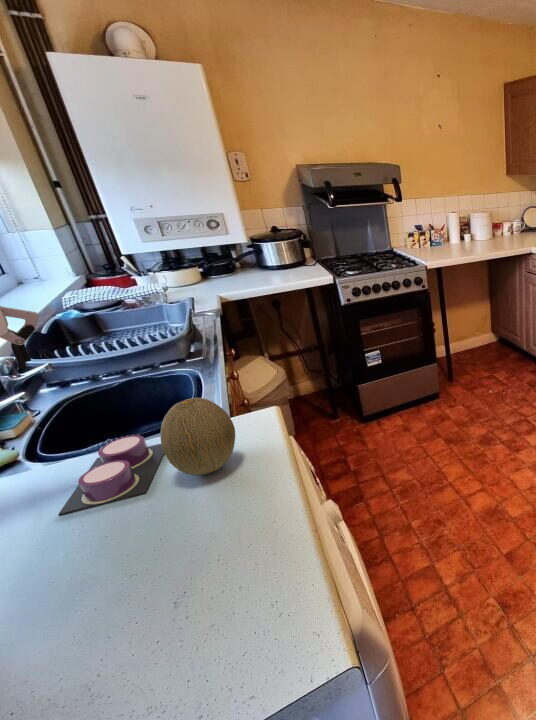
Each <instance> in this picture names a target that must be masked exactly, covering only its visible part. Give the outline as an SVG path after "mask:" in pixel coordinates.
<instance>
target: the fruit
mask: <svg viewBox="0 0 536 720" xmlns="http://www.w3.org/2000/svg"><path fill="white" fill-rule="evenodd" d="M235 442H236V428H235V425H234V423H233V421H232V418H231V417H230V415H229V414H228V413H227V412H226V410H225V409H223V408H222V407H221V406H220V405H219V404H217V403H215V402H214V401H213V400H209V399H207V398H203V397H191V398H188V399H184V400H182V401H181V400H180V401H178V402H177V403H175V404H174V405H173V406H171V408H170V409H169V410H168V411H167V413H166V414H165V415H164V417H163V419H162V423H161V427H160V444H161V445H162V449H163V451H164V453H165V454H164V456H165V457H166V458H167V461H168V462H169V463H170V464H171V465H172V466H173V467H174V468H175V469H176V470H178V471H180V473H184V474H187V475H191V476H202V475H207V474H211V473H214V472H216V471H217V470H219V469H220V468H222V467H223V466H225V464H226V463H227V462H228V460H229V459H231V456H232V455H233V452H234V448H235Z"/></svg>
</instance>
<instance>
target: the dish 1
mask: <svg viewBox="0 0 536 720" xmlns="http://www.w3.org/2000/svg"><path fill="white" fill-rule="evenodd" d="M148 447H149V446H148V444H147V442H146V440H145V437H144V436H142V435H138V434H134V435H128V436H122V437H120V438H117V439H114V440H112V441H110V442H108V443H106V444H104V445H103V446H102V447H101V448H99V449H98V452H97V455H98V458H99V457H100V459H101V461H102V463H103V464H104V463H107V462H111V461H117V460H125V461H128V462H129V463H130V465H131V467H133V466H135V465H137V464H139V463H141V462H142V461H144V460H145V459H146V458H147V457H148V456H149V454H150V452H149V449H148Z"/></svg>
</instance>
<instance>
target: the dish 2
mask: <svg viewBox="0 0 536 720" xmlns="http://www.w3.org/2000/svg"><path fill="white" fill-rule="evenodd" d="M88 470H89V469H88ZM88 470H87V471H86V472H85V473H83V474H82V475H81V476H80V477H79V479H78V480H77V481H78V482H77V483H78V485H80V487H81V489H82V491H83V494H84V496H85V498H86V499H87V500H88V501H92V502H96V501H103V500H107V499H110V498H113V497H115V496H117V495H119V494H121V493H123V492H125V491H126V490H128V489H129V488H130V487H132V486H133V484H134V483H135V481H136V477H135V475H134V473H133V470H132V468H131V465H130V463H129V462H128V461H125V460H117V461H111V462H107V463H104V464H101V465H99V466H97V467H94V468H92V469H91V470H89V471H88Z"/></svg>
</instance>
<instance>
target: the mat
mask: <svg viewBox="0 0 536 720" xmlns="http://www.w3.org/2000/svg"><path fill="white" fill-rule="evenodd" d="M147 447H148V449H149V452H150V454H149V456H148V457H147V458H146V459H145V460H144V461H142V462H141V463H139V464H137V465H135V466H133V467H131V468H132V470H133V473H134V475H135V477H136V481H135V483H134V484H133V486H132V487H130V488H129V489H128V490H126V491H125V492H123V493H121V494H119V495H117V496H115V497H113V498H110V499H107V500H103V501H96V502H92V501H88V500H87V499H86V498H85V496H84V494H83V491H82V489H81V487H80V485H79V484H78V485H77V486H76V488H75V489H74V491H73V492H72V493H71V495H70V496H69V498H68V499H67V501H66V502H65V504H64V505H63V507H62V508H61V509H60V510H59V512H58V513H57V514H58V516H64V515H68V514H72V513H76V512H80V511H83V510H88V509H91V508H96V507H99V506H103V505H107V504H111V503H115V502H119V501H123V500H127V499H131V498H134V497H135V498H136V497H138V496H143V495H147V493H148V490H149V488H150V486H151V484H152V482H153V479H154V478H155V475H156V473H157V471H158V469H159V467H160V464H161V462H162V460H163V458H164V456H165V453H164V451H163V449H162V445H161V443H158V444H154V445H149V446H147ZM101 464H103V463H102V461H101V459H100V457H99V456H98V457H96V458H95V460H94V462H93V464H92V465H91V466H90V467H89V469H88V470H87V471H89V470H91V469H92V468H94V467H97V466H99V465H101Z"/></svg>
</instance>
